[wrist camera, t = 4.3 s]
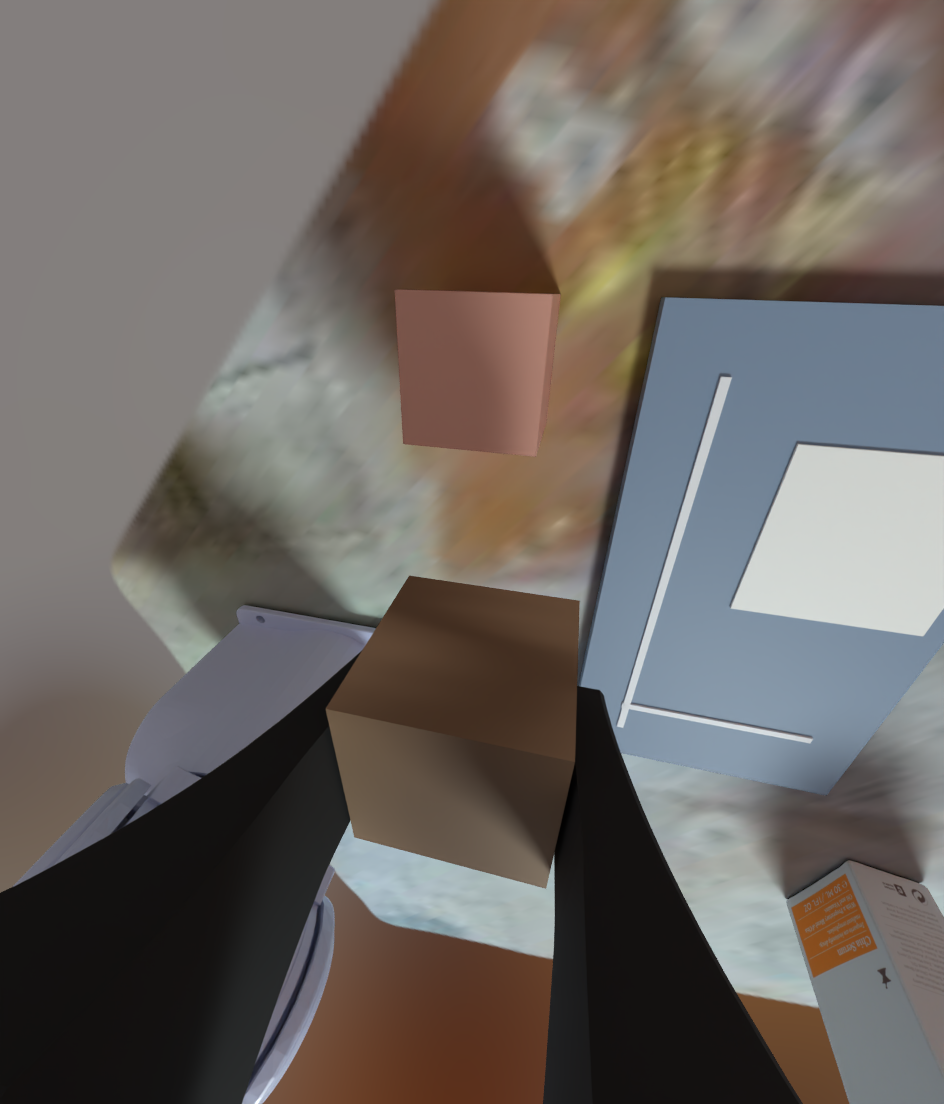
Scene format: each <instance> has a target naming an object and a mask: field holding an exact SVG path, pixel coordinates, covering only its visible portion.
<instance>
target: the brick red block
mask: <svg viewBox="0 0 944 1104" xmlns="http://www.w3.org/2000/svg"><path fill="white" fill-rule="evenodd" d="M560 296H561V294H541V293H508V292H475V291H442V290H395V304H396V322H397V340H398V358H399V376H400V394H401V412H402V430H403V444H409V445H419V446H430V447H440V448H451V449H461V450H472V451H482V452H493V453H503V454H514V455H524V456H535V457H536V455H537V452H538V448H539V445H540V442H541V439H542V435H543V432H544V429H545V426H546V422H547V413H548V404H549V395H550V386H551V377H552V368H553V359H554V350H555V341H556V332H557V323H558V314H559V305H560Z"/></svg>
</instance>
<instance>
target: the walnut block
mask: <svg viewBox="0 0 944 1104" xmlns="http://www.w3.org/2000/svg"><path fill="white" fill-rule="evenodd" d="M578 637H579V601H577V600H570V599H563V598H557V597H550V596H543V595H536V594H530V593H523V592H516V591H509V590H502V589H496V588H489V587H482V586H475V585H469V584H462V583H455V582H448V581H442V580H435V579H428V578H421V577H415V576H409V577H408V579H407V580H406V582H405V583H404V585H403V587H402V588H401V590H400V591H399V593H398V594H397V596H396V598H395V599H394V601H393V602H392V604H391V606H390V607H389V609H388V610H387V612H386V614H385V615H384V617H383V618H382V620H381V621H380V623H379V625H378V626H377V628H376V629H375V631H374V633H373V634H372V636H371V637H370V639H369V641H368V642H367V644H366V645H365V647H364V649H363V650H362V652H361V653H360V655H359V656H358V658H357V660H356V661H355V663H354V664H353V666H352V668H351V669H350V671H349V672H348V674H347V676H346V677H345V679H344V680H343V682H342V683H341V685H340V687H339V688H338V690H337V691H336V693H335V695H334V696H333V698H332V699H331V701H330V703H329V704H328V706H327V707H326V713H327V718H328V722H329V727H330V731H331V735H332V740H333V744H334V749H335V753H336V758H337V762H338V767H339V771H340V775H341V780H342V784H343V789H344V793H345V798H346V802H347V806H348V811H349V815H350V820H351V824H352V829H353V833H354V837H355V838H359V839H363V840H367V841H370V842H374V843H378V844H381V845H385V846H389V847H393V848H396V849H400V850H404V851H408V852H411V853H415V854H419V855H423V856H426V857H430V858H434V859H438V860H441V861H445V862H449V863H453V864H456V865H460V866H464V867H467V868H471V869H475V870H479V871H482V872H486V873H490V874H494V875H497V876H501V877H505V878H509V879H512V880H516V881H520V882H524V883H527V884H531V885H535V886H538V887H542V888H546V886H547V882H548V878H549V873H550V869H551V864H552V860H553V856H554V851H555V847H556V843H557V838H558V834H559V830H560V825H561V821H562V817H563V812H564V808H565V804H566V799H567V795H568V790H569V786H570V782H571V777H572V773H573V769H574V764H575V745H576V709H577V673H578Z"/></svg>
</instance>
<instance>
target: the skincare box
mask: <svg viewBox="0 0 944 1104" xmlns="http://www.w3.org/2000/svg"><path fill="white" fill-rule="evenodd" d="M786 903H787V907H788V910H789V913H790V916H791V919H792V922H793V926H794V929H795V932H796V935H797V938H798V942H799V945H800V948H801V951H802V954H803V957H804V961H805V964H806V967H807V970H808V973H809V977H810V980H811V983H812V986H813V989H814V993H815V995H816V999H817V1002H818V1005H819V1008H820V1011H821V1015H822V1018H823V1021H824V1024H825V1027H826V1031H827V1034H828V1037H829V1040H830V1043H831V1046H832V1050H833V1053H834V1056H835V1059H836V1062H837V1065H838V1068H839V1072H840V1075H841V1078H842V1081H843V1084H844V1088H845V1091H846V1094H847V1097H848V1100H849V1103H850V1104H944V917H943V915H942V913H941V912H940V910H939V908H938V906H937V904H936V903H935V901H934V899H933V897H932V895H931V894H930V892H929V890H928V889H927V888H926V887H925V886H924V885H922V884H919V883H916V882H914V881H911V880H908V879H905V878H902V877H898V876H895V875H892V874H890V873H886V872H884V871H880V870H877V869H874V868H872V867H869V866H866V865H863V864H860V863H857V862H854V861H850V860H849V861H846V862H845V863H844V864H843V865H842V866H841V867H839V868H838V869H836V870H834V871H833V872H831V873H830V874H828V875H827V876H825V877H824V878H822V879H821V880H819V881H818V882H816V883H815V884H813V885H811V886H810V887H808V888H806V889H805V890H803V891H801V892H800V893H798V894H797V895H795V896H793V897H791V898H789V899H788V900H787V902H786Z"/></svg>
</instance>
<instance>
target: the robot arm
mask: <svg viewBox="0 0 944 1104" xmlns="http://www.w3.org/2000/svg"><path fill="white" fill-rule="evenodd" d="M236 614H237V618H238V621H239V624H238V625H237V626H236V627H235V628H234V629H233V630H232V631H231V632H230V633H229V634H228V635H226V636H225V637H224V638H223V639H222V640H221V641H220V642H219V643H218V644H217V645H216V646H215V647H214V648H213V649H212V650H211V651H210V652H209V653H208V654H206V655H205V656H204V657H203V658H202V659H201V660H200V661H199V662H198V663H197V664H196V665H195V666H194V667H193V668H192V669H191V670H190V671H189V672H188V673H187V674H185V675H184V676H183V677H182V678H181V679H180V680H179V681H178V682H177V683H176V684H175V685H174V686H173V687H172V688H171V689H170V690H169V691H168V692H167V693H165V694H164V695H163V696H162V697H161V698H160V699H159V700H158V702H157V703H156V704H155V705H154V706H153V707H152V709H151V710H150V711H149V712H148V714H147V715H146V717H145V718H144V720H143V721H142V723H141V725H140V726H139V728H138V730H137V732H136V734H135V736H134V738H133V740H132V742H131V745H130V747H129V750H128V753H127V757H126V763H125V779H126V783H123V784H119V785H115V786H112V787H110V788H109V789H108V790H107V791H106V792H105V793H104V794H103V795H102V796H100V798H98V799H97V800H96V801H95V802H94V804H92V805H91V806H90V807H89V808H88V809H87V810H86V811H85V813H83V814H82V816H80V817H79V819H78V820H77V821H76V822H75V823H74V824H73V825H72V826H71V827H70V828H69V829H68V830H67V831H66V832H65V833H64V834H63V835H62V836H61V837H60V838H59V839H58V840H57V841H56V842H55V843H54V844H53V845H52V846H51V847H50V848H49V849H48V850H47V851H46V852H45V853H44V854H43V856H42V857H41V858H40V859H39V860H38V861H37V862H36V863H35V864H34V865H33V866H32V867H31V868H30V869H29V870H28V871H27V872H26V873H25V874H24V875H23V876H22V877H21V878H20V879H19V881H18V882H17V883H16V884H15V885H14V886H13V887H12V888H9V889H7V890H6V891H3V892H1V893H0V1104H262V1103H263V1102H264V1101H265V1100H266V1099H267V1097H268V1096H269V1095H270V1094H271V1092H272V1091H273V1089H274V1088H275V1087H276V1085H277V1084H278V1082H279V1081H280V1080H281V1078H282V1076H283V1075H284V1073H285V1072H286V1070H287V1068H288V1067H289V1065H290V1063H291V1062H292V1060H293V1058H294V1056H295V1054H296V1053H297V1051H298V1049H299V1047H300V1045H301V1043H302V1041H303V1039H304V1037H305V1035H306V1033H307V1030H308V1028H309V1026H310V1024H311V1022H312V1019H313V1017H314V1015H315V1012H316V1010H317V1007H318V1004H319V1002H320V999H321V996H322V993H323V990H324V987H325V984H326V981H327V978H328V974H329V970H330V966H331V961H332V956H333V948H334V925H335V923H334V910H333V905H332V903H331V902H330V900H329V899H328V898H327V897H326V896H324V895H325V893H326V891H327V888H328V886H329V884H330V881H331V879H332V877H333V874H334V872H335V869H334V868H333V867H332V866H330V865H329V864H330V862H331V859H332V857H333V855H334V853H335V851H336V849H337V847H338V845H339V843H340V841H341V838H342V836H343V834H344V832H345V830H346V828H347V826H348V824H349V822H350V815H349V811H348V806H347V802H346V798H345V793H344V789H343V784H342V780H341V775H340V771H339V767H338V762H337V758H336V753H335V749H334V744H333V740H332V735H331V731H330V727H329V722H328V718H327V713H326V707H327V706H328V704H329V703H330V701H331V699H332V698H333V696H334V695H335V693H336V691H337V690H338V688H339V687H340V685H341V683H342V682H343V680H344V679H345V677H346V676H347V674H348V672H349V671H350V669H351V668H352V666H353V664H354V663H355V661H356V660H357V658H358V656H359V655H360V653H361V652H362V650H363V649H364V647H365V645H366V644H367V642H368V641H369V639H370V637H371V636H372V634H373V633H374V631H375V629H376V628H372V627H366V626H361V625H355V624H349V623H344V622H338V621H332V620H327V619H321V618H315V617H310V616H304V615H298V614H293V613H287V612H281V611H275V610H270V609H264V608H258V607H253V606H247V605H243V606H241V607H240V608H239V609H238V610H237V611H236ZM554 863H555V932H554V955H553V970H552V986H551V1000H550V1015H549V1029H548V1043H547V1057H546V1072H545V1085H544V1100H543V1104H803V1103H802V1102H801V1100H800V1098H799V1097H798V1095H797V1094H796V1092H795V1091H794V1089H793V1087H792V1086H791V1084H790V1083H789V1081H788V1079H787V1078H786V1076H785V1074H784V1073H783V1071H782V1069H781V1068H780V1066H779V1064H778V1063H777V1061H776V1059H775V1057H774V1056H773V1054H772V1052H771V1051H770V1049H769V1047H768V1046H767V1044H766V1042H765V1041H764V1039H763V1037H762V1036H761V1034H760V1032H759V1031H758V1029H757V1027H756V1025H755V1024H754V1022H753V1020H752V1019H751V1017H750V1015H749V1014H748V1012H747V1010H746V1009H745V1007H744V1005H743V1004H742V1002H741V1000H740V999H739V997H738V995H737V993H736V992H735V990H734V988H733V987H732V985H731V983H730V982H729V980H728V978H727V976H726V974H725V973H724V971H723V969H722V967H721V965H720V964H719V962H718V960H717V958H716V956H715V954H714V953H713V951H712V949H711V947H710V945H709V944H708V942H707V940H706V938H705V936H704V934H703V933H702V931H701V929H700V927H699V925H698V923H697V921H696V919H695V917H694V915H693V914H692V912H691V910H690V908H689V906H688V904H687V902H686V900H685V898H684V896H683V894H682V892H681V890H680V888H679V886H678V884H677V882H676V880H675V878H674V876H673V874H672V872H671V870H670V868H669V866H668V864H667V862H666V860H665V857H664V855H663V853H662V851H661V849H660V847H659V844H658V842H657V840H656V838H655V836H654V833H653V831H652V829H651V827H650V825H649V822H648V820H647V818H646V815H645V813H644V811H643V808H642V806H641V804H640V801H639V799H638V796H637V794H636V791H635V789H634V786H633V784H632V781H631V779H630V776H629V774H628V771H627V768H626V766H625V763H624V760H623V758H622V755H621V752H620V749H619V746H618V743H617V740H616V737H615V734H614V731H613V728H612V725H611V721H610V718H609V714H608V710H607V707H606V703H605V698H604V695H603V693H602V692H601V691H600V690H597V689H592V688H586V687H581V686H577V709H576V745H575V764H574V769H573V773H572V777H571V782H570V786H569V790H568V795H567V799H566V804H565V808H564V812H563V817H562V821H561V825H560V830H559V834H558V838H557V843H556V847H555V851H554Z"/></svg>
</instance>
